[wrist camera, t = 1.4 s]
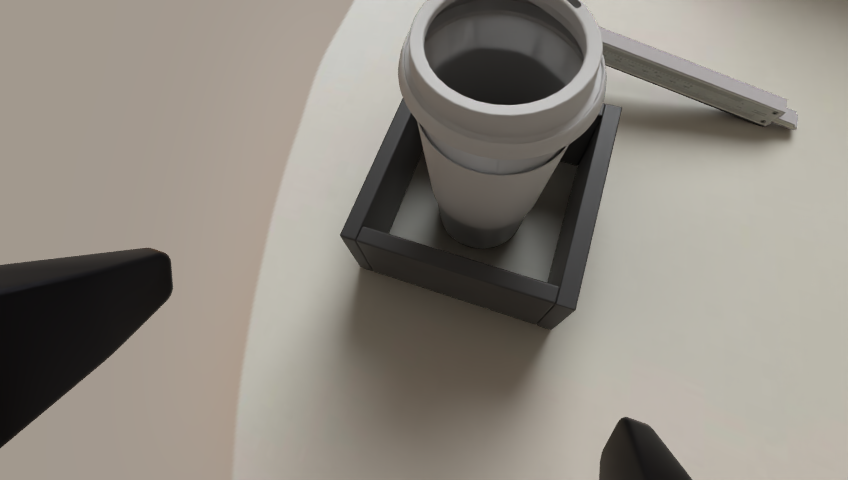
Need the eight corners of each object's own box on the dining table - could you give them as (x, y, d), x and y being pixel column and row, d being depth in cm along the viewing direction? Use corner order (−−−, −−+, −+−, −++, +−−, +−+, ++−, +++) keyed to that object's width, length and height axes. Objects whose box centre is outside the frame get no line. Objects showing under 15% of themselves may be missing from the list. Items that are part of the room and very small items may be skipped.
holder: (551, 330, 21) (575, 310, 17) (359, 267, 23) (339, 235, 19) (594, 158, 25) (622, 106, 21) (424, 115, 27) (418, 61, 23)
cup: (568, 226, 23) (672, 57, 12) (470, 293, 22) (486, 175, 11) (489, 139, 26) (516, -68, 15) (398, 196, 25) (351, 19, 14)
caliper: (458, 56, 28) (459, -36, 23) (463, 44, 29) (465, -49, 23) (791, 133, 25) (896, 47, 19) (792, 119, 25) (896, 30, 19)
